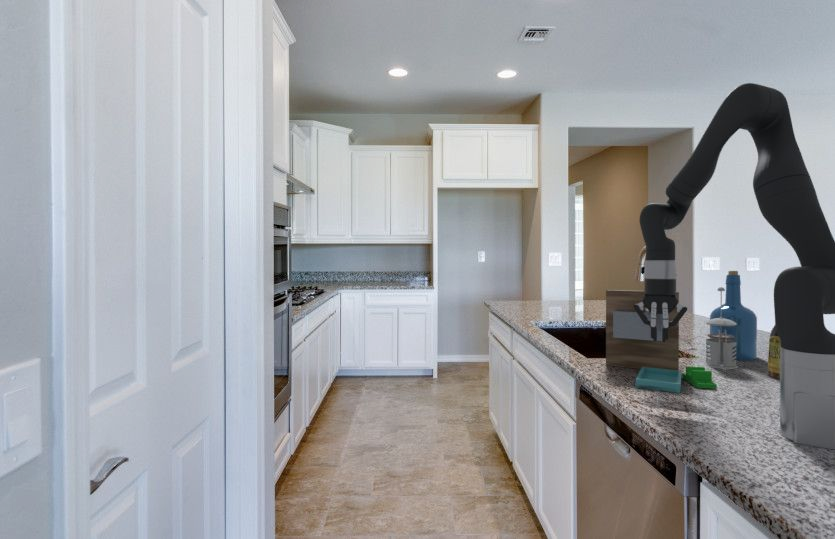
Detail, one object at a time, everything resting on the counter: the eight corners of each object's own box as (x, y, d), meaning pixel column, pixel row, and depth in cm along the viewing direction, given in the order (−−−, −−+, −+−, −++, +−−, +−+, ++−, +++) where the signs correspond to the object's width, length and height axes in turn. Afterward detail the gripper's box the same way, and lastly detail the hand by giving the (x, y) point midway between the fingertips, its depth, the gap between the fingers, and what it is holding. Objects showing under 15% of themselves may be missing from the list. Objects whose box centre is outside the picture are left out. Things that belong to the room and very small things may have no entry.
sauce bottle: (763, 376, 125) (763, 307, 125) (775, 374, 128) (775, 306, 128) (790, 382, 119) (790, 309, 119) (802, 379, 122) (802, 308, 122)
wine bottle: (762, 364, 140) (763, 271, 140) (713, 360, 146) (713, 270, 146) (751, 356, 153) (751, 270, 152) (706, 353, 158) (706, 270, 158)
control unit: (665, 341, 126) (665, 309, 126) (613, 337, 133) (613, 307, 133) (666, 338, 131) (667, 307, 131) (616, 334, 138) (616, 305, 138)
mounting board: (678, 373, 129) (678, 292, 129) (605, 365, 140) (606, 290, 140) (678, 371, 131) (678, 291, 131) (607, 363, 142) (607, 290, 141)
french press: (738, 365, 139) (738, 286, 139) (742, 373, 129) (743, 288, 129) (701, 361, 144) (701, 286, 144) (703, 369, 134) (703, 287, 134)
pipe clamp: (717, 374, 112) (697, 373, 113) (717, 388, 112) (697, 388, 113) (699, 364, 123) (681, 364, 124) (699, 377, 123) (681, 377, 124)
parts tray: (680, 393, 109) (680, 384, 109) (635, 387, 115) (635, 378, 115) (681, 378, 123) (681, 371, 123) (642, 374, 128) (642, 366, 128)
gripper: (630, 277, 119) (630, 340, 119) (689, 278, 112) (689, 345, 112) (633, 276, 125) (633, 336, 126) (689, 277, 118) (689, 341, 118)
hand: (659, 340), depth 119 cm, fingers closed
